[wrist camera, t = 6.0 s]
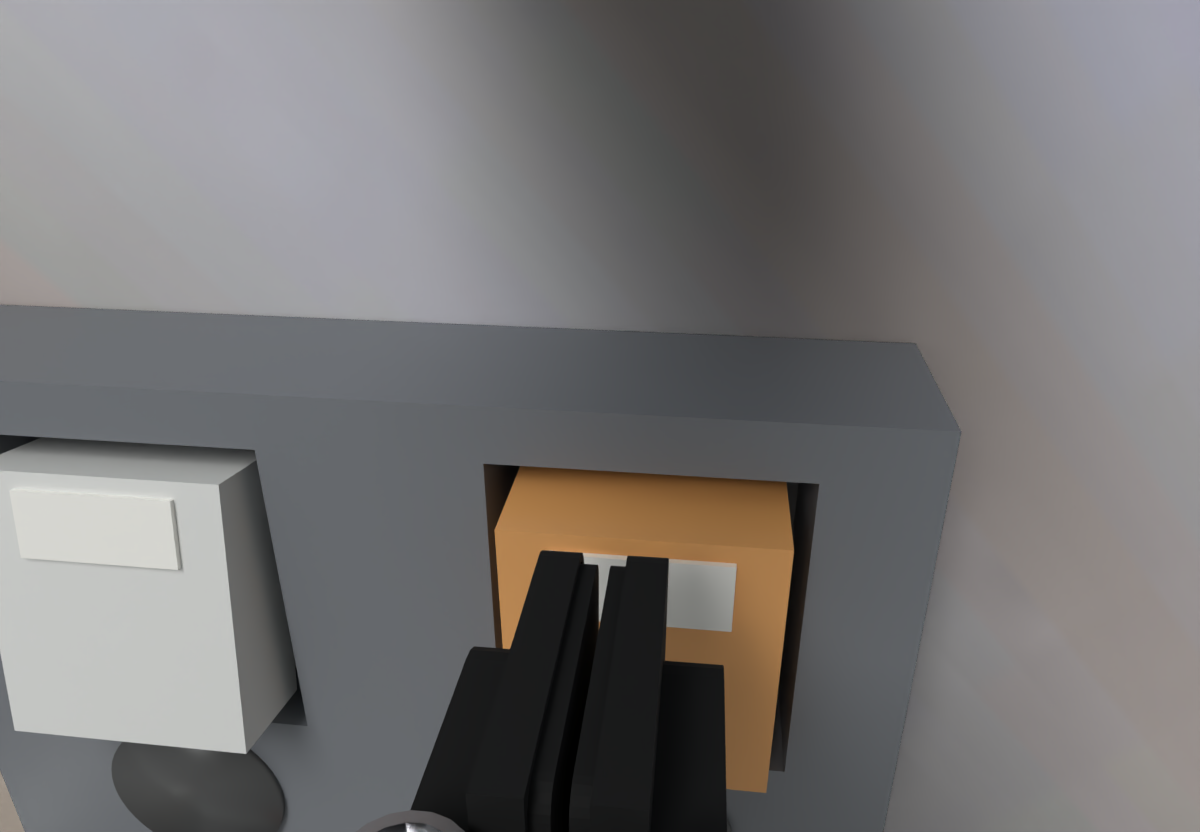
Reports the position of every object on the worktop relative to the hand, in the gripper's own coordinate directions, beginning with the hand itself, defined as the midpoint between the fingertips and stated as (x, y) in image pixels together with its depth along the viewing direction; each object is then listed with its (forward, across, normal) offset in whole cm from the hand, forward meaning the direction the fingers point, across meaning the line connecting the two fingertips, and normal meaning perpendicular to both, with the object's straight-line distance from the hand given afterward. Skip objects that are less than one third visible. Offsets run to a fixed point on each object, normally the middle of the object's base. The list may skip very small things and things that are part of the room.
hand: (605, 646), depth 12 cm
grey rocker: (+3, +9, +2) cm, 9 cm away
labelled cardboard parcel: (+3, 0, +2) cm, 4 cm away
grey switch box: (+6, +4, +3) cm, 8 cm away
